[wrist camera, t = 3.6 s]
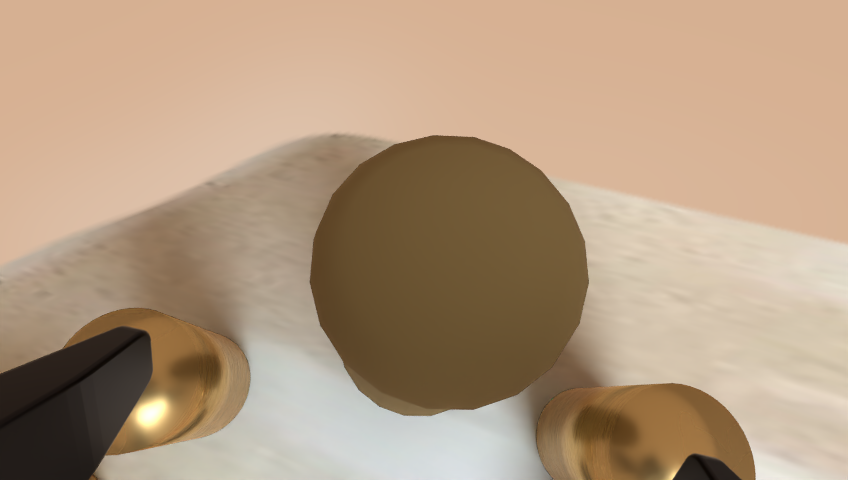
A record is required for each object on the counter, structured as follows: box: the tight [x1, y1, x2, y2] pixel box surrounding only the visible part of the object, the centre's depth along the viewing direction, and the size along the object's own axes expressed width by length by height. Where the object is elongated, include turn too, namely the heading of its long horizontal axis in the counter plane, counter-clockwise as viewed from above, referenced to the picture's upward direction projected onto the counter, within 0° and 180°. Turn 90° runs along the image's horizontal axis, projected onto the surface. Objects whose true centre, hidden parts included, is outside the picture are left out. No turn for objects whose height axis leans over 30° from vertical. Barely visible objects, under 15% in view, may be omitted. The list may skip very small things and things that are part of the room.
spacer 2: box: [537, 383, 755, 480], centre depth 14 cm, size 4×4×6 cm
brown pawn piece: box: [310, 135, 589, 416], centre depth 13 cm, size 6×6×11 cm
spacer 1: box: [63, 308, 250, 455], centre depth 14 cm, size 4×4×5 cm
